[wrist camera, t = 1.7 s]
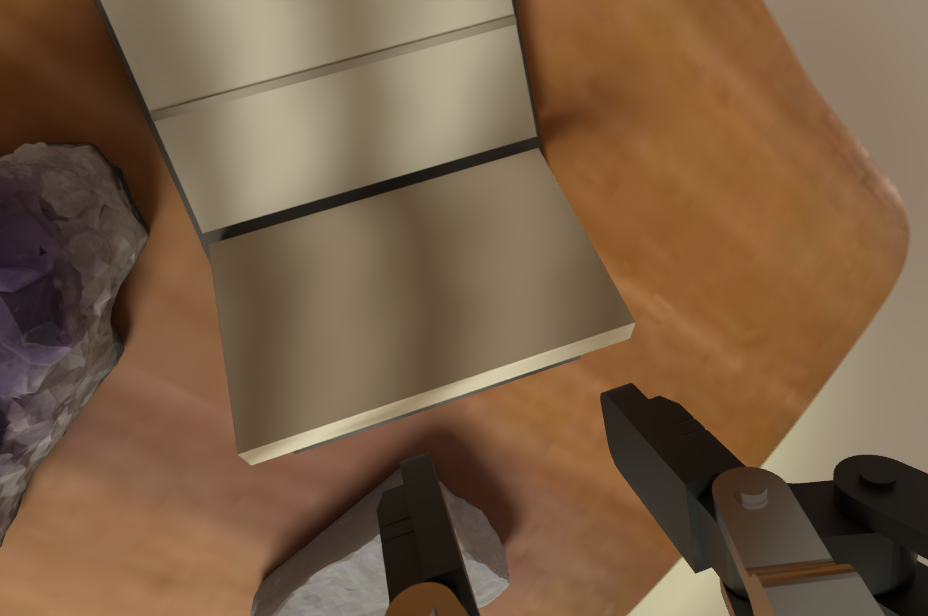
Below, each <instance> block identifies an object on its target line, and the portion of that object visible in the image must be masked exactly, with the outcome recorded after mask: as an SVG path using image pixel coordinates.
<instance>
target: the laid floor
mask: <svg viewBox="0 0 928 616" xmlns="http://www.w3.org/2000/svg"><path fill="white" fill-rule="evenodd" d="M94 2H95V4H96V6H97V8H98V11H99V13H100V15H101V17H102V20H103V22H104V24H105V26H106V29H107V31H108V33H109V35H110V38H111V40H112V42H113V45H114V47H115V49H116V51H117V54H118V56H119V58H120V60H121V63H122V65H123V67H124V69H125V72H126V74H127V76H128V78H129V81H130V83H131V85H132V88H133V90H134V92H135V94H136V97H137V99H138V101H139V103H140V106H141V108H142V110H143V112H144V115H145V117H146V119H147V121H148V124H149V126H150V128H151V131H152V133H153V135H154V137H155V140H156V142H157V144H158V146H159V149H160V151H161V153H162V155H163V158H164V160H165V162H166V164H167V167H168V169H169V171H170V174H171V176H172V178H173V180H174V183H175V185H176V187H177V189H178V192H179V194H180V196H181V198H182V201H183V203H184V205H185V207H186V210H187V212H188V214H189V217H190V219H191V221H192V223H193V226H194V228H195V230H196V232H197V235H198V237H199V239H200V241H201V244H202V246H203V248H204V250H205V253H206V255H207V257H208V259H209V262H210V264H211V261H210V254H209V246H208V245H209V244H212V243H215V242H219V241H222V240H226V239H229V238H232V237H236V236H239V235H243V234H246V233H250V232H253V231H256V230H260V229H263V228H267V227H270V226H273V225H277V224H280V223H284V222H287V221H290V220H294V219H297V218H301V217H304V216H308V215H311V214H314V213H318V212H321V211H325V210H328V209H331V208H335V207H338V206H342V205H345V204H348V203H352V202H355V201H359V200H362V199H366V198H369V197H372V196H376V195H379V194H383V193H386V192H389V191H393V190H396V189H400V188H403V187H406V186H410V185H413V184H417V183H420V182H423V181H427V180H430V179H434V178H437V177H441V176H444V175H447V174H451V173H454V172H458V171H461V170H464V169H468V168H471V167H475V166H478V165H481V164H485V163H488V162H492V161H495V160H499V159H502V158H505V157H509V156H512V155H516V154H519V153H522V152H526V151H529V150H533V149H536V148H539V150H540V152H541V154H542V155H543V151H542V146H541V140H540V135H539V129H538V124H537V118H536V113H535V108H534V102H533V97H532V91H531V86H530V80H529V75H528V70H527V64H526V59H525V53H524V48H523V42H522V37H521V31H520V26H519V21H518V15H517V10H516V4H515V0H94ZM577 359H580V355H579V356H576V357H573V358H570V359H567V360H564V361H561V362H558V363H555V364H552V365H549V366H546V367H543V368H540V369H537V370H534V371H531V372H528V373H525V374H522V375H519V376H516V377H513V378H510V379H507V380H504V381H501V382H498V383H495V384H492V385H490V386H487V387H484V388H481V389H478V390H475V391H472V392H469V393H466V394H463V395H460V396H457V397H454V398H451V399H448V400H445V401H442V402H439V403H436V404H433V405H430V406H427V407H424V408H421V409H418V410H415V411H412V412H409V413H406V414H403V415H400V416H397V417H394V418H391V419H388V420H385V421H382V422H379V423H376V424H373V425H370V426H367V427H364V428H361V429H358V430H355V431H352V432H349V433H346V434H343V435H340V436H337V437H334V438H331V439H328V440H325V441H322V442H319V443H316V444H313V445H310V446H307V447H304V448H301V449H298V450H296V451H293V452H294V454H297V453H300V452H303V451H306V450H309V449H312V448H314V447H317V446H320V445H323V444H326V443H329V442H332V441H335V440H338V439H341V438H344V437H347V436H350V435H353V434H356V433H359V432H362V431H365V430H368V429H371V428H374V427H377V426H380V425H383V424H386V423H389V422H392V421H395V420H398V419H401V418H404V417H407V416H410V415H413V414H416V413H419V412H422V411H425V410H428V409H431V408H434V407H437V406H440V405H443V404H446V403H449V402H452V401H455V400H457V399H460V398H463V397H466V396H469V395H472V394H475V393H478V392H481V391H484V390H487V389H490V388H493V387H496V386H499V385H502V384H505V383H508V382H511V381H514V380H517V379H520V378H523V377H526V376H529V375H532V374H535V373H538V372H541V371H544V370H547V369H550V368H553V367H556V366H559V365H562V364H565V363H568V362H571V361H574V360H577Z"/></svg>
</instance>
